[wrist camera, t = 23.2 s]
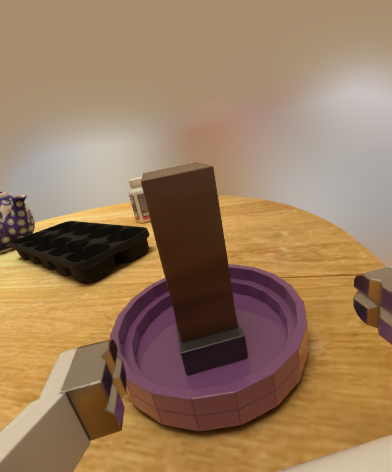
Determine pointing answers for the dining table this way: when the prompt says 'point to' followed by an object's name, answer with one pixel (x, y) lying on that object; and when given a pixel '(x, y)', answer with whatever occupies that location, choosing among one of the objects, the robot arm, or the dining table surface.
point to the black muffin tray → (83, 248)
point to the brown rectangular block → (195, 264)
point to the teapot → (14, 220)
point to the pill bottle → (138, 200)
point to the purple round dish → (222, 377)
